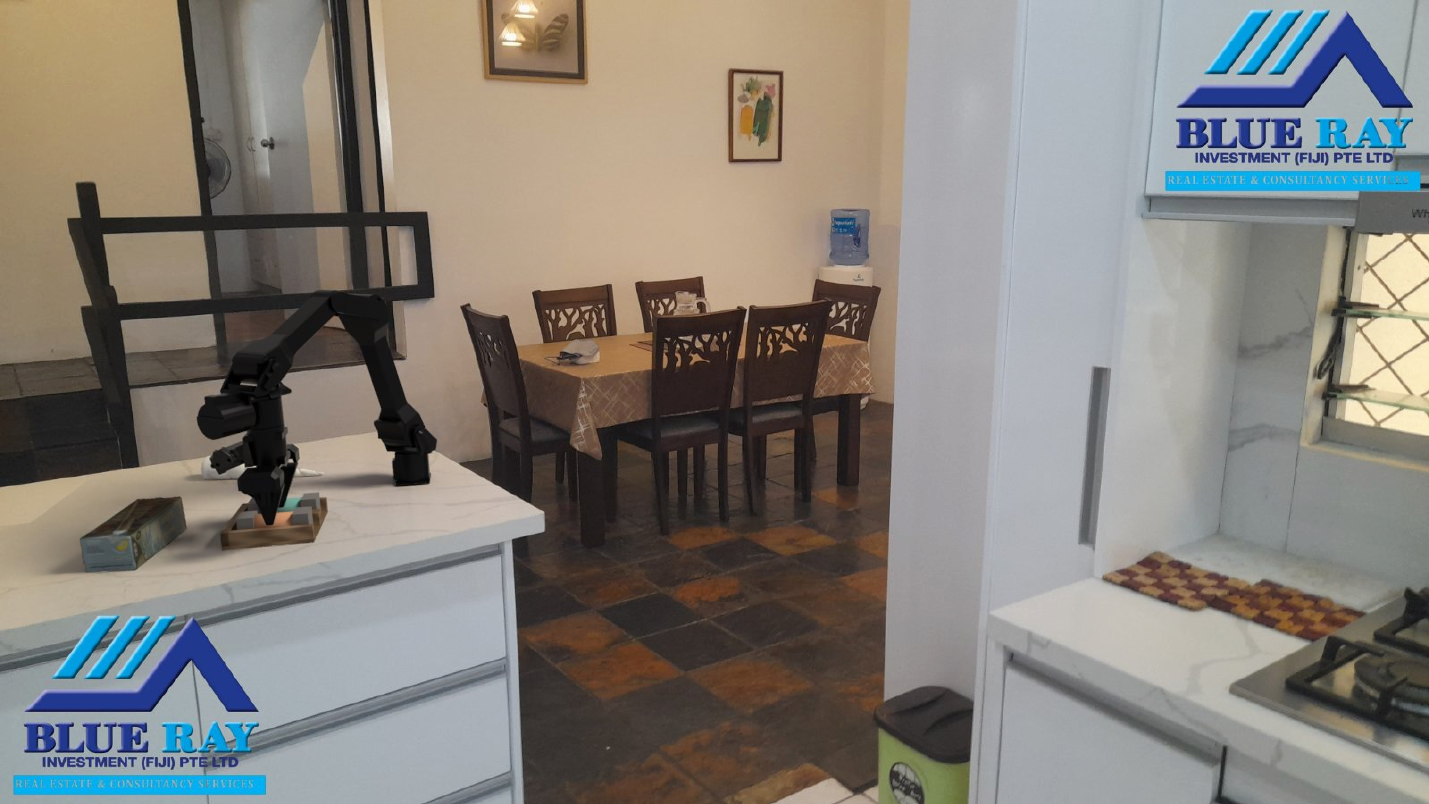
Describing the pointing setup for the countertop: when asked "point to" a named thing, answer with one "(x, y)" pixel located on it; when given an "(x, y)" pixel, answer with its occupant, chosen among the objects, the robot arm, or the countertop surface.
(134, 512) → the beverage carton
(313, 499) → the teal capped cylinder
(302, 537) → the wooden tray
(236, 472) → the unicorn horn
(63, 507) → the countertop surface
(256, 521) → the orange capped cylinder
